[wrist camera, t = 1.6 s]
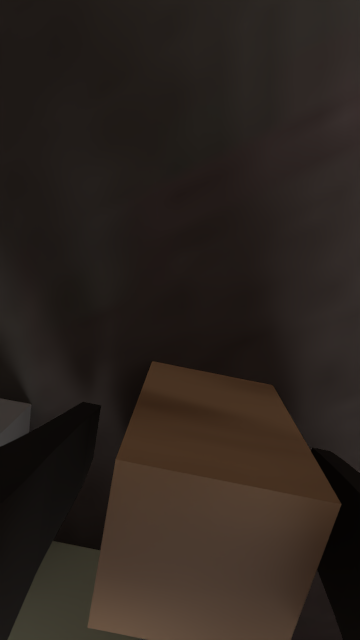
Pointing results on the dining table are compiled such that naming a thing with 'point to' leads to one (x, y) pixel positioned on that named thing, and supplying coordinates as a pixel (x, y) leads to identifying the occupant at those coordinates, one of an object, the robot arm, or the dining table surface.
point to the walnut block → (210, 514)
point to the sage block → (62, 598)
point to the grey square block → (13, 420)
